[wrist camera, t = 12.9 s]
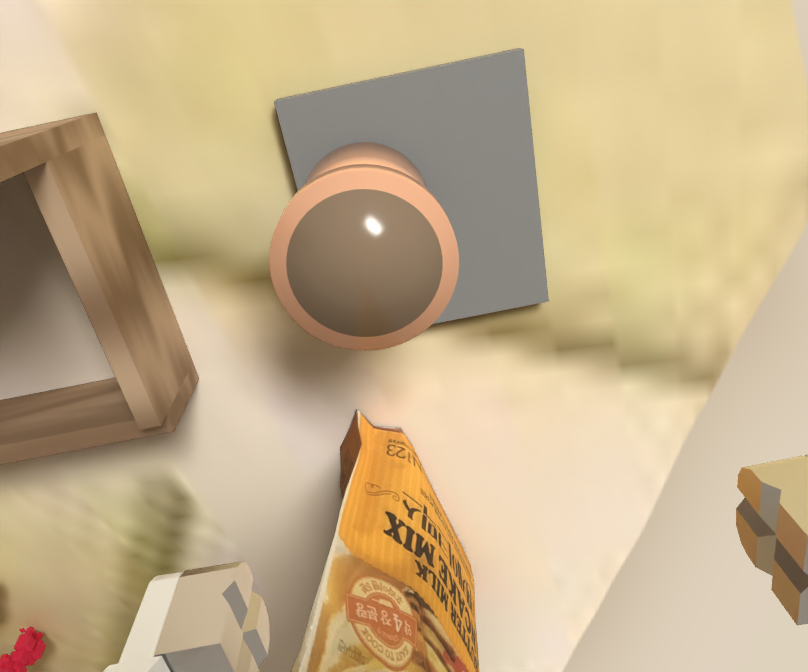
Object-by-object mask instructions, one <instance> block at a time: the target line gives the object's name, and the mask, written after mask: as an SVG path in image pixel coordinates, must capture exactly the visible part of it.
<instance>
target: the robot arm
mask: <svg viewBox="0 0 808 672" xmlns="http://www.w3.org/2000/svg"><path fill="white" fill-rule="evenodd" d="M737 487H738V488H739V490H740V491H741V492H742V493H743V495H744V496H745V498H744V500H743V501H742V502H741V503H740V504H739V506H738V507H737V508H736V525H737V529H738V533H739V537H740V541H741V543H742V545H743V547H744V549H745V551H746V553H747V555H748V557H749V558H750V559H751V561H752V562H753V564H754V565H755V567H757V568H759V569H760V570H762V571H764V572H766V573H768V574H770V575H772V576H773V580H772V591H773V592H774V594H775V595H776V596H777V598H778V599H779V601H780V602H781V603H782V605H783V606H784V608H785V609H786V610H787V611H788V613H789V614H790V616H791V617H792V619H793V620H794V622H795V623H796V624H797V625H802V624H808V454H807V455H805V456H798V457H793V458H788V459H783V460H778V461H773V462H767V463H762V464H758V465H752V466H747V467H743V468H742V469H741V470H740V473H739V474H738V485H737ZM253 580H254V576H253V574H252V572H251V570H250V568H249V565H248V563H245V562H236V563H229V564H223V565H217V566H211V567H205V568H199V569H192V570H186V571H184V572H179V573H172V574H166V575H159V576H155V577H154V578H153V579H152V580H151V581H150V583H149V584H148V587H147V589H146V592H145V594H144V597H143V600H142V602H141V605H140V608H139V610H138V613H137V615H136V618H135V621H134V623H133V626H132V628H131V631H130V634H129V636H128V639H127V641H126V644H125V647H124V649H123V652H122V655H121V657H120V660H119V662H118V664H113V665H109V666H108V667H107V668H106V669H105V670H104V671H103V672H260V671H259V669H258V667H259V666H260V665H261V663H262V662H263V661H264V660H265V658H266V657H267V656H268V650H269V642H270V630H269V618H268V613H267V609H266V605H265V603H264V600H263V598H262V596H261V595H259V594H257V593H256V592H254V591H252V585H253Z"/></svg>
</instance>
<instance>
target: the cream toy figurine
mask: <svg viewBox="0 0 808 672" xmlns="http://www.w3.org/2000/svg"><path fill="white" fill-rule="evenodd" d="M19 630H20V631H21V632H25V634H21V635H20V636H19V638H18V640H17V642H16V644H15V646H14V649H15V650H16V651H14V652H12V653H11V655H10V656H9V655H8V654H3V655H2V657H1V659H0V672H27V669H26V668H25V666H29V665H33V664H34V663H35V661H36V660H37V659H41V656H42V654H43V652H44V649H45V647H46V645H45V644H44V642H43V641H42V640H41V639H42V636H43V634H42V633H41V632H39V633H36V631H35V630H34V629H33V628H32V627H29V628H27V630H26V631H25V629H24V628H23V629H19Z"/></svg>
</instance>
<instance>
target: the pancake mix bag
mask: <svg viewBox="0 0 808 672" xmlns="http://www.w3.org/2000/svg"><path fill="white" fill-rule="evenodd" d="M340 455H341V482H340V487H341V492H342V498H343V502H342V505H341V509H340V513H339V518H338V522H337V527H336V532H335V535H334V538H333V542H332V545H331V548H330V551H329V554H328V558H327V561H326V565H325V568H324V571H323V575H322V578H321V582H320V585H319V588H318V591H317V594H316V597H315V600H314V603H313V606H312V609H311V613H310V617H309V620H308V624H307V628H306V631H305V635H304V639H303V643H302V646H301V649H300V651H299V653H298V656H297V658H296V660H295V663H294V665H293V667H292V670H291V672H479V661H478V646H477V634H476V623H475V596H474V579H473V575H472V570H471V565H470V563H469V560H468V558H467V556H466V554H465V552H464V549H463V547H462V545H461V543H460V541H459V539H458V537H457V535H456V533H455V531H454V529H453V528H452V526H451V524H450V522H449V520H448V518H447V516H446V514H445V512H444V510H443V508H442V506H441V504H440V502H439V500H438V498H437V496H436V494H435V492H434V490H433V488H432V486H431V484H430V482H429V480H428V478H427V476H426V474H425V471H424V469H423V467H422V464H421V462H420V460H419V458H418V456H417V454H416V452H415V450H414V448H413V446H412V445H411V443H410V442H409V440H408V439H407V437H406V436H405V434H404V433H403V431H402V430H401V428H390V427H374V426H373V425H372V424H371V423H370V422H369V421H368V420H367V419H366V418H365V417H364V416H363V415H362V414H361V413H360V411H359V410H358V409H357V410H356V413H355V416H354V418H353V421H352V424H351V427H350V429H349V431H348V433H347V435H346V437H345V439H344V441H343V443H342V445H341V447H340Z"/></svg>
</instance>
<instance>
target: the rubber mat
mask: <svg viewBox="0 0 808 672" xmlns="http://www.w3.org/2000/svg"><path fill="white" fill-rule="evenodd" d="M274 104H275V107H276V111H277V115H278V119H279V122H280V126H281V130H282V134H283V137H284V141H285V145H286V149H287V152H288V156H289V160H290V164H291V167H292V171H293V175H294V179H295V182H296V186H297V190H298V191H299V190H300V189H301V188H302V187H303V186H304V185H305V183H306V181H307V178H308V176H309V174H310V173H311V171H312V170H313V168H314V167H315V166H316V164H317V163H318V162H319V161H320V160H321V159H322V158H323V157H324V156H326V155H327V154H329V153H330V152H331V151H333V150H335V149H337V148H339V147H342V146H345V145H348V144H352V143H359V142H370V143H378V144H382V145H385V146H388V147H391V148H393V149H395V150H397V151H399V152H400V153H401V154H403V155H404V156H406V157H407V158H408V159H409V160H410V161H411V162H412V163H413V164H414V165H415V166H416V168H417V169H418V170H419V172H420V174H421V175H422V177H423V179H424V181H425V184H426V186H427V189H428V190H429V191H430V192H431V193H432V194H433V195H434V196H435V197H436V199H437V200H438V201H439V202H440V204H441V206H442V207H443V209H444V210H445V212H446V214H447V217H448V219H449V221H450V223H451V226H452V228H453V231H454V234H455V238H456V241H457V245H458V252H459V271H458V279H457V282H456V286H455V290H454V292H453V294H452V297H451V299H450V301H449V303H448V304H447V306H446V308H445V310H444V311H443V312H442V313H441V315H440V316H439V317H438V319H437V320H436V321H435V322H434V323H433V324H435V323H441V322H446V321H451V320H456V319H461V318H466V317H471V316H476V315H482V314H487V313H492V312H497V311H502V310H507V309H512V308H517V307H523V306H528V305H533V304H538V303H543V302H548V301H549V299H548V289H547V279H546V269H545V259H544V249H543V239H542V229H541V218H540V208H539V198H538V188H537V178H536V168H535V158H534V148H533V138H532V128H531V118H530V108H529V98H528V88H527V77H526V67H525V57H524V49H520V48H518V49H513V50H508V51H503V52H499V53H494V54H489V55H484V56H480V57H475V58H470V59H465V60H461V61H456V62H451V63H446V64H442V65H437V66H432V67H427V68H423V69H418V70H413V71H408V72H404V73H399V74H394V75H389V76H385V77H380V78H375V79H370V80H366V81H361V82H356V83H351V84H347V85H342V86H337V87H332V88H328V89H323V90H318V91H313V92H309V93H304V94H299V95H294V96H290V97H285V98H280V99H276V100H275V101H274Z"/></svg>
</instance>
